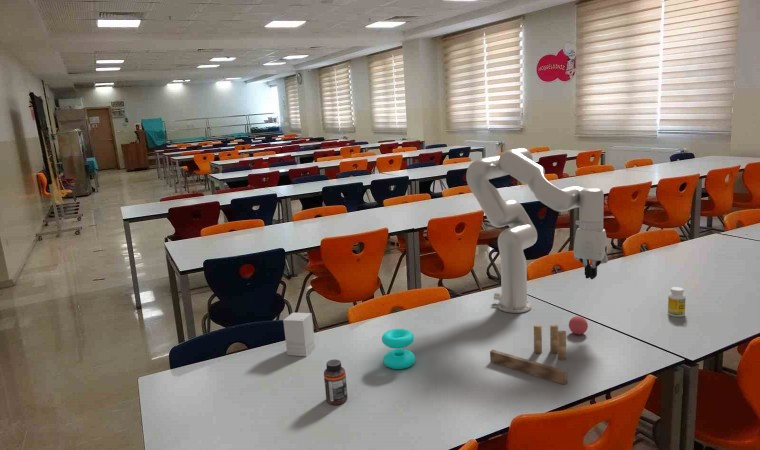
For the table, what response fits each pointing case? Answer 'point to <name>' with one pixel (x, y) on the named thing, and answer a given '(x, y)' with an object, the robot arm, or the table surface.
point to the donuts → (398, 356)
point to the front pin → (554, 338)
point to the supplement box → (299, 334)
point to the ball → (578, 325)
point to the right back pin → (562, 345)
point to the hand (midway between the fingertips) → (590, 277)
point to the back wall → (529, 367)
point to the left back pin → (537, 338)
